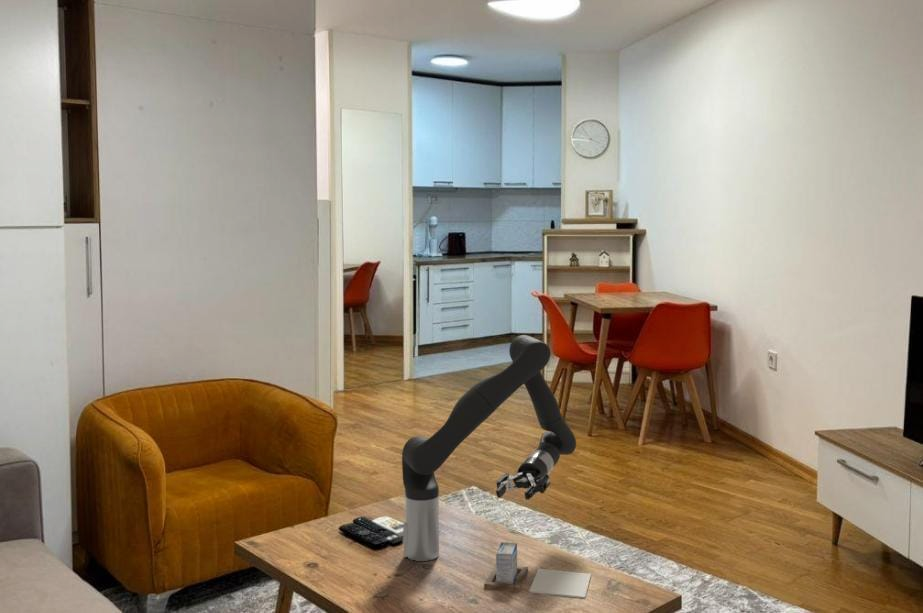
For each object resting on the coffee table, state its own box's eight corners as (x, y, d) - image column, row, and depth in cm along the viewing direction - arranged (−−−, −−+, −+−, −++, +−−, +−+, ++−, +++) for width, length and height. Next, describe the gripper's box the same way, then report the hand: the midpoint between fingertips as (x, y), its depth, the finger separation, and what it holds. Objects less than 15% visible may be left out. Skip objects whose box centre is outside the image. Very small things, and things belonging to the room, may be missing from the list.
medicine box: (513, 587, 222) (513, 554, 221) (495, 585, 222) (495, 553, 222) (517, 574, 229) (517, 542, 228) (500, 573, 230) (500, 541, 229)
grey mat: (529, 592, 218) (529, 590, 218) (538, 570, 232) (538, 568, 232) (584, 598, 215) (585, 596, 215) (591, 575, 228) (591, 574, 228)
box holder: (484, 588, 221) (484, 583, 221) (495, 568, 233) (495, 563, 233) (519, 592, 219) (519, 587, 218) (528, 571, 231) (528, 567, 231)
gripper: (511, 455, 249) (486, 481, 236) (556, 456, 242) (533, 484, 229) (516, 478, 251) (491, 506, 238) (561, 481, 244) (538, 510, 231)
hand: (512, 495), depth 233 cm, fingers open, 8 cm apart
